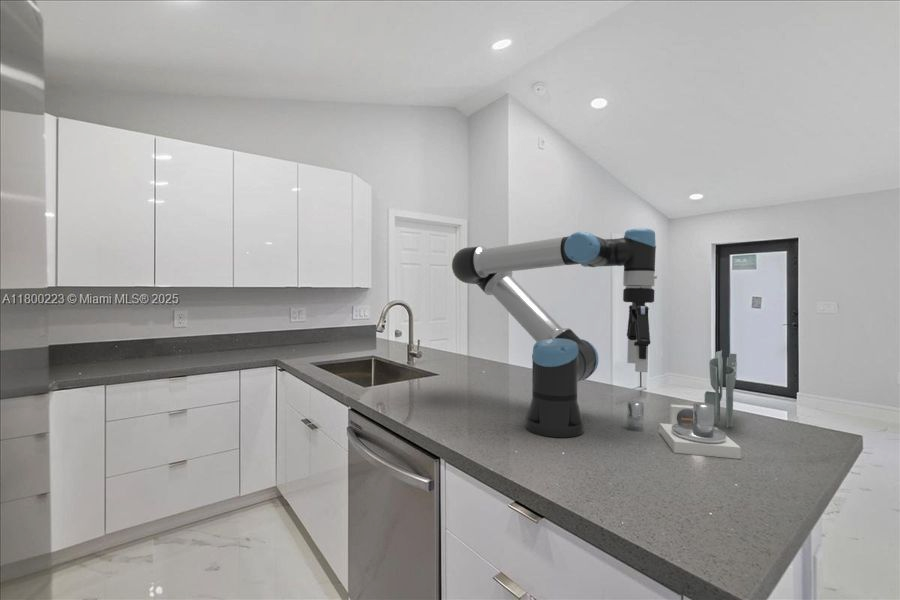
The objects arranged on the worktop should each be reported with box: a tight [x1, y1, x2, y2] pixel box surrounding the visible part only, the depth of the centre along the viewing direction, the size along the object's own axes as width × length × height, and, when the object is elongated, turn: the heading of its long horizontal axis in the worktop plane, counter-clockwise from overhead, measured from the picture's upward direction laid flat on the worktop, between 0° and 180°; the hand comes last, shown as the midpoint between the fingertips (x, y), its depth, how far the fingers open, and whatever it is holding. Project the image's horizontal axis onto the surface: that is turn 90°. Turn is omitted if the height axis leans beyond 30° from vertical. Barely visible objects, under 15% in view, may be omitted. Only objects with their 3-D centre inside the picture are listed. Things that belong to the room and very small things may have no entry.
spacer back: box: [626, 400, 645, 432], centre depth 108 cm, size 4×4×7 cm
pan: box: [672, 423, 727, 443], centre depth 96 cm, size 11×11×1 cm
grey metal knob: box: [692, 401, 715, 438], centre depth 93 cm, size 4×4×7 cm
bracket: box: [704, 349, 738, 429], centre depth 114 cm, size 28×7×20 cm, turn 143°
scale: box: [659, 403, 742, 460], centre depth 98 cm, size 13×16×7 cm
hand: (636, 367), depth 108 cm, fingers open, 13 cm apart
